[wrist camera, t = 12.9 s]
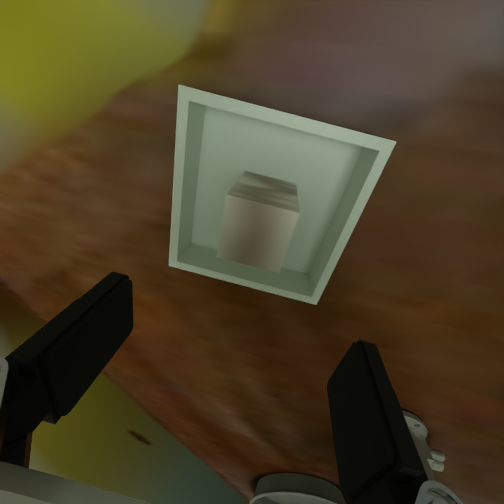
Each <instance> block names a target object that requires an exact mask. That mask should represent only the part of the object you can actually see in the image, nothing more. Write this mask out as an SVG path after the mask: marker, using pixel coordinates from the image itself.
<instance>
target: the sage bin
mask: <svg viewBox="0 0 504 504" xmlns="http://www.w3.org/2000/svg"><path fill="white" fill-rule="evenodd" d="M395 144H396V141H392V140H388V139H384V138H380V137H377V136H373V135H369V134H365V133H361V132H357V131H354V130H350V129H346V128H342V127H338V126H335V125H331V124H327V123H323V122H319V121H316V120H312V119H308V118H304V117H300V116H297V115H293V114H289V113H285V112H281V111H277V110H274V109H270V108H266V107H262V106H258V105H255V104H251V103H247V102H243V101H239V100H236V99H232V98H228V97H224V96H220V95H217V94H213V93H209V92H205V91H201V90H198V89H194V88H190V87H186V86H182V85H179V87H178V105H177V123H176V142H175V160H174V178H173V197H172V215H171V233H170V251H169V266H171V267H175V268H179V269H183V270H186V271H190V272H194V273H198V274H201V275H205V276H209V277H213V278H216V279H220V280H224V281H228V282H232V283H235V284H239V285H243V286H247V287H250V288H254V289H258V290H262V291H265V292H269V293H273V294H277V295H280V296H284V297H288V298H292V299H296V300H299V301H303V302H307V303H311V304H314V305H317V303H318V301H319V299H320V297H321V295H322V293H323V291H324V289H325V287H326V285H327V283H328V280H329V278H330V276H331V274H332V272H333V270H334V268H335V266H336V264H337V262H338V260H339V258H340V256H341V254H342V252H343V250H344V248H345V246H346V244H347V242H348V240H349V238H350V236H351V234H352V232H353V230H354V227H355V225H356V223H357V221H358V219H359V217H360V215H361V213H362V211H363V209H364V207H365V205H366V203H367V201H368V199H369V197H370V195H371V193H372V191H373V189H374V187H375V185H376V183H377V181H378V179H379V177H380V175H381V172H382V170H383V168H384V166H385V164H386V162H387V160H388V158H389V156H390V154H391V152H392V150H393V148H394V146H395ZM245 171H248V172H252V173H256V174H260V175H264V176H268V177H272V178H276V179H280V180H284V181H287V182H291V183H295V184H296V185H297V194H298V203H299V212H300V213H299V216H298V219H297V222H296V225H295V228H294V231H293V234H292V237H291V240H290V243H289V246H288V249H287V252H286V255H285V258H284V261H283V264H282V267H281V270H280V273H277V272H273V271H269V270H266V269H262V268H258V267H254V266H250V265H246V264H242V263H238V262H234V261H230V260H226V259H223V258H219V257H216V255H217V249H218V243H219V237H220V230H221V224H222V218H223V212H224V206H225V199H226V194H227V193H228V192H229V190H230V189H231V188H232V187H233V185H234V184H235V183H236V182H237V180H238V179H239V178H240V177H241V176H242V174H243V173H244V172H245Z"/></svg>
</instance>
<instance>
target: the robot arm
mask: <svg viewBox="0 0 504 504" xmlns="http://www.w3.org/2000/svg"><path fill="white" fill-rule="evenodd" d="M132 329H133V297H132V281H131V280H129V277H128V276H127V275H124V274H120V273H116V272H111V273H110V274H109V275H107V276H106V277H105V278H104V279H102V280H101V281H100V282H99V283H98V284H96V285H95V286H94V287H93V288H92V289H90V290H89V291H88V292H87V293H86V294H84V295H83V296H82V297H81V298H80V299H77V300H76V301H74V302H73V303H72V304H70V305H69V306H68V307H67V308H66V309H64V310H63V311H62V312H61V313H59V314H58V315H57V316H56V317H55V318H53V319H52V320H51V321H50V322H48V323H47V324H46V325H45V326H44V327H42V328H41V329H40V330H39V331H37V332H36V333H35V334H34V335H33V336H31V337H30V338H29V339H28V340H26V341H25V342H24V343H23V344H22V345H20V346H19V347H18V348H17V349H16V350H14V351H13V352H12V353H11V354H9V355H8V356H7V357H6V358H5V359H4V358H2V357H0V504H152V503H149V502H145V501H142V500H138V499H135V498H131V497H128V496H125V495H121V494H118V493H114V492H111V491H107V490H104V489H100V488H97V487H93V486H90V485H86V484H83V483H80V482H76V481H73V480H69V479H66V478H62V477H59V476H55V475H51V474H48V473H44V472H40V471H36V470H32V469H29V460H30V451H31V442H32V432H33V431H34V430H35V429H36V427H37V426H38V425H39V424H40V423H41V421H45V422H49V423H53V424H56V423H57V421H58V420H59V419H60V417H61V416H65V415H67V414H68V413H69V412H70V411H71V410H72V409H73V407H74V406H75V405H76V404H77V402H78V401H79V400H80V398H81V397H82V396H83V394H84V393H85V392H86V391H87V389H88V388H89V387H90V385H91V384H92V383H93V381H94V380H95V379H96V377H97V376H98V375H99V373H100V372H101V371H102V370H103V368H104V367H105V366H106V364H107V363H108V362H109V361H110V359H111V358H112V357H113V355H114V354H115V353H116V351H117V350H118V349H119V348H120V346H121V345H122V344H123V342H124V341H125V340H126V338H127V337H128V336H129V334H130V333H131V331H132ZM327 392H328V399H329V407H330V414H331V422H332V429H333V437H334V444H335V452H336V459H337V467H338V474H339V482H340V488H341V493H342V495H343V497H345V498H346V502H347V504H463V503H462V502H461V501H460V499H459V498H458V497H457V496H456V495H455V494H454V493H453V492H452V491H450V490H449V489H448V488H447V487H446V486H444V485H442V484H440V483H438V482H437V481H436V479H435V476H434V474H433V471H432V469H433V470H436V471H440V472H442V471H443V470H444V464H443V461H444V460H445V456H444V453H443V452H442V451H440V450H436V449H430V448H429V447H428V445H427V443H426V440H425V439H426V437H427V430H426V427H425V425H424V423H423V421H422V420H421V419H420V418H419V417H417V416H415V415H414V414H412V413H409V412H407V411H404V410H402V409H401V407H400V404H399V402H398V399H397V396H396V394H395V391H394V389H393V387H392V386H391V383H390V380H389V378H388V375H387V373H386V370H385V367H384V365H383V362H382V359H381V357H380V354H379V352H378V349H377V347H376V345H375V344H372V343H369V342H365V341H361V340H359V341H358V342H357V343H355V342H354V343H353V344H352V345H351V347H350V348H349V350H348V351H347V353H346V354H345V356H344V357H343V359H342V360H341V362H340V364H339V365H338V367H337V368H336V370H335V371H334V373H333V374H332V376H331V377H330V379H329V381H328V384H327Z"/></svg>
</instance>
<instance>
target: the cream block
mask: <svg viewBox="0 0 504 504" xmlns="http://www.w3.org/2000/svg"><path fill="white" fill-rule="evenodd" d="M299 213H300V212H299V203H298V194H297V185H296V184H295V183H291V182H287V181H284V180H280V179H276V178H272V177H268V176H264V175H260V174H256V173H252V172H248V171H245V172H244V173H243V174H242V176H241V177H240V178H239V179H238V180H237V182H236V183H235V184H234V185H233V187H232V188H231V189H230V190H229V192H228V193H227V194H226V199H225V206H224V212H223V218H222V224H221V230H220V237H219V243H218V249H217V255H216V257H219V258H223V259H226V260H230V261H234V262H238V263H242V264H246V265H250V266H254V267H258V268H262V269H266V270H269V271H273V272H277V273H280V270H281V267H282V264H283V261H284V258H285V255H286V252H287V249H288V246H289V243H290V240H291V237H292V234H293V231H294V228H295V225H296V222H297V219H298V216H299Z"/></svg>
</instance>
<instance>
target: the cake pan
mask: <svg viewBox="0 0 504 504" xmlns="http://www.w3.org/2000/svg"><path fill="white" fill-rule="evenodd" d="M249 504H346V503H345V500H344V497H343V495H342V493H341V491H340V490H339V489H338V488H337V487H336V486H334V485H333V484H331V483H329V482H327V481H325V480H322V479H319V478H316V477H313V476H309V475H303V474H296V473H276V474H271V475H267V476H264V477H262V478H261V479H260V480H259V481H258V483H257V487H256V491H255V495H254V497H253V498H252V499H251V500H250V502H249Z"/></svg>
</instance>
